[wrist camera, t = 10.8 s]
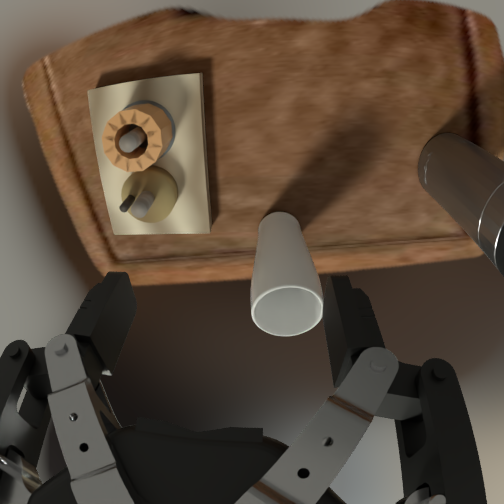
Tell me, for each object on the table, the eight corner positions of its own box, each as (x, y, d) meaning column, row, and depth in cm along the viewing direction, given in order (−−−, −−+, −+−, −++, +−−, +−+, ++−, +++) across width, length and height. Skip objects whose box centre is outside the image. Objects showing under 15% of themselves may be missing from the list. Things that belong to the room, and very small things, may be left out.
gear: (169, 100, 29) (158, 106, 26) (174, 157, 33) (164, 169, 29) (114, 108, 29) (98, 114, 26) (121, 161, 33) (107, 173, 29)
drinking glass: (316, 224, 40) (340, 307, 27) (282, 258, 43) (290, 346, 30) (275, 194, 37) (284, 271, 25) (241, 232, 40) (235, 317, 28)
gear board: (202, 72, 29) (189, 75, 23) (212, 225, 40) (204, 257, 34) (95, 88, 29) (64, 97, 24) (119, 227, 40) (99, 256, 34)
